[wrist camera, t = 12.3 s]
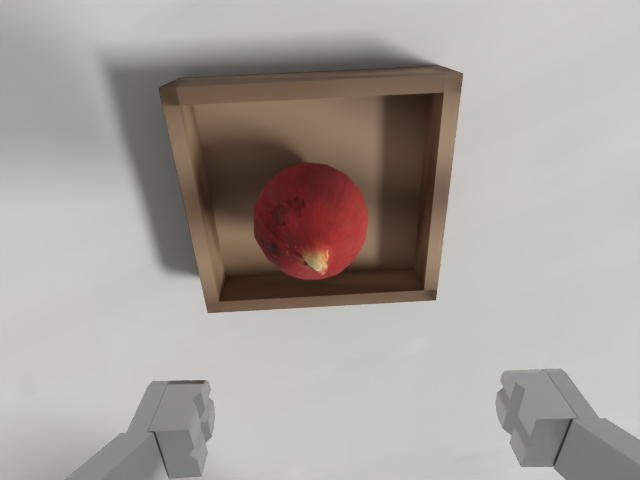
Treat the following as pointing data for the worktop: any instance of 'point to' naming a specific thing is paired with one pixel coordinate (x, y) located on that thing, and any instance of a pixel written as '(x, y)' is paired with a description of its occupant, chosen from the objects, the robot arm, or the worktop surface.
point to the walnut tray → (325, 148)
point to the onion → (310, 221)
